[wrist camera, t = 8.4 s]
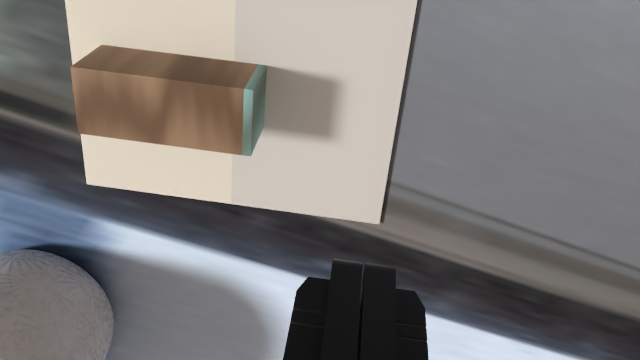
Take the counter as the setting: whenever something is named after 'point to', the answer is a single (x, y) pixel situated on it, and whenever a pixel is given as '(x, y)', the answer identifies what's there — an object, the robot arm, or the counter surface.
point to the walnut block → (170, 99)
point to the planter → (51, 309)
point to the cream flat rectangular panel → (267, 99)
